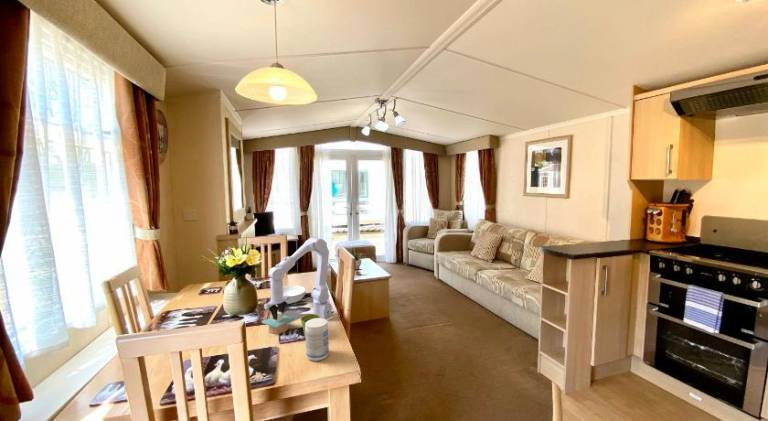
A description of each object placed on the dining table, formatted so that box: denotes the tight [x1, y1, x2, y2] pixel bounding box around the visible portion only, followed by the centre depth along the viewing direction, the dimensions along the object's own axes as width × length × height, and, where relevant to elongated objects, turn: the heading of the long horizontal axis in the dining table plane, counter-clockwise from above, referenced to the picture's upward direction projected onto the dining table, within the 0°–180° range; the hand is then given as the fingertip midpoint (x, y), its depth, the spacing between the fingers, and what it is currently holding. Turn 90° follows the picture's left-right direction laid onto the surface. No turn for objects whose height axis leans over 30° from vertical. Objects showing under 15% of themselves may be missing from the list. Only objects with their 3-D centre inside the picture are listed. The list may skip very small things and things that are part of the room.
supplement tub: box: [304, 318, 330, 362], centre depth 136 cm, size 10×10×15 cm
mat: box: [283, 310, 306, 325], centre depth 175 cm, size 13×13×1 cm
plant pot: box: [299, 313, 320, 338], centre depth 154 cm, size 9×9×9 cm
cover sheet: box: [261, 312, 294, 328], centre depth 160 cm, size 11×11×4 cm
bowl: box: [268, 323, 289, 335], centre depth 160 cm, size 9×9×4 cm
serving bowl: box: [269, 285, 307, 305], centre depth 198 cm, size 21×21×7 cm
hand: (278, 317), depth 160 cm, fingers closed on cover sheet, 3 cm apart
